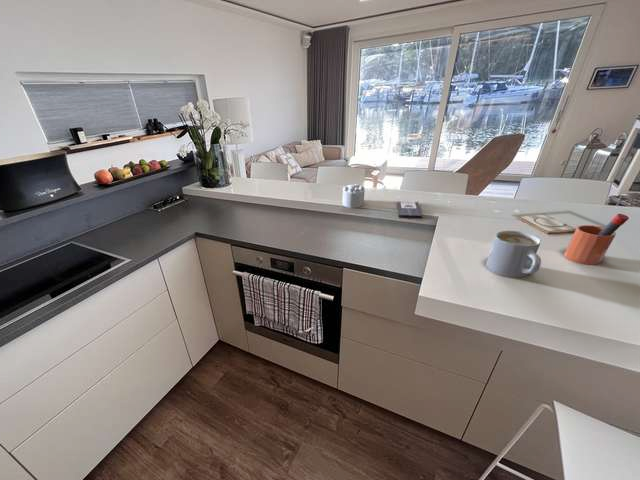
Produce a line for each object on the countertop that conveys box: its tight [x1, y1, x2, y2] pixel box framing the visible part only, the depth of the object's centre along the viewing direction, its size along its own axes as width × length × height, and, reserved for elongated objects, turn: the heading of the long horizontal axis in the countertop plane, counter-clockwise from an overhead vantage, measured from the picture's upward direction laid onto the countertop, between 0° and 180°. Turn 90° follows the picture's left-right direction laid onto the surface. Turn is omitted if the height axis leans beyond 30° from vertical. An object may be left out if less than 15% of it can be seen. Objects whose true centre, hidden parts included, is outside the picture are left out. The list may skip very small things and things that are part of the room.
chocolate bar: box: [396, 201, 423, 219], centre depth 129 cm, size 9×1×18 cm
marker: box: [598, 213, 630, 236], centre depth 80 cm, size 2×2×14 cm
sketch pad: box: [515, 213, 577, 235], centre depth 106 cm, size 20×16×1 cm
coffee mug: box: [485, 230, 542, 279], centre depth 80 cm, size 13×10×10 cm
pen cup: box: [563, 224, 617, 266], centre depth 83 cm, size 8×8×9 cm
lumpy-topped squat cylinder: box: [342, 183, 366, 209], centre depth 142 cm, size 10×13×9 cm
